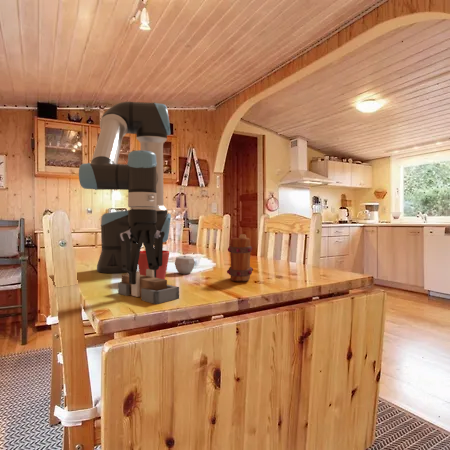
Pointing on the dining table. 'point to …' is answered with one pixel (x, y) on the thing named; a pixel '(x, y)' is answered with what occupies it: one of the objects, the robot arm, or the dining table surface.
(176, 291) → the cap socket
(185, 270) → the apple
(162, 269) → the flower pot
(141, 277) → the brown rectangular block
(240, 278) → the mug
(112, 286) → the dining table surface
